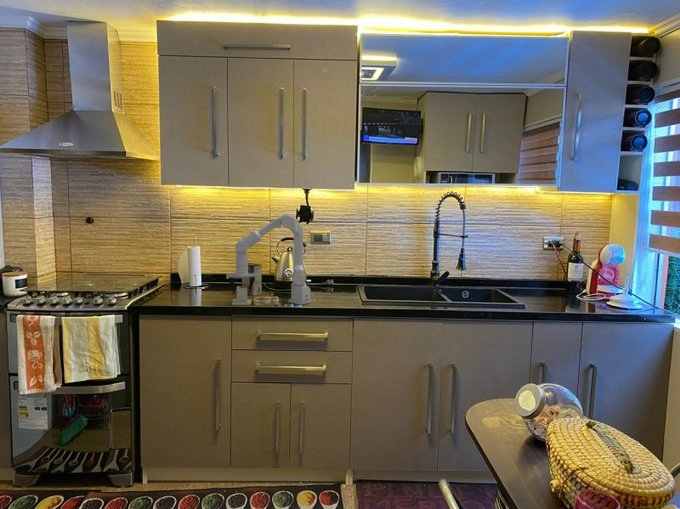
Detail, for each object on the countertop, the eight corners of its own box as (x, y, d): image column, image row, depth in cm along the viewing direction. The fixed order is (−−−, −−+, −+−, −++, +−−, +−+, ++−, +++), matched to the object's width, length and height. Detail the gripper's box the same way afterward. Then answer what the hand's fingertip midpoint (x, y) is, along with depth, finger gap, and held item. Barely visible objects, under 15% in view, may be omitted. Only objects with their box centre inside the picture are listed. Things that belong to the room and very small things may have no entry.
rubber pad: (251, 300, 235) (251, 299, 235) (251, 304, 226) (251, 303, 226) (233, 301, 233) (233, 299, 233) (232, 305, 224) (232, 303, 224)
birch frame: (277, 300, 236) (277, 296, 236) (278, 304, 227) (278, 300, 226) (253, 301, 234) (253, 296, 234) (253, 305, 225) (253, 301, 224)
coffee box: (241, 293, 253) (241, 263, 251) (249, 291, 258) (249, 262, 256) (253, 295, 247) (253, 265, 246) (262, 293, 253) (262, 264, 251)
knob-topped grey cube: (247, 300, 232) (247, 285, 231) (247, 302, 227) (247, 287, 227) (237, 300, 231) (236, 285, 231) (236, 302, 226) (236, 287, 226)
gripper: (225, 266, 222) (226, 294, 224) (257, 266, 225) (257, 294, 226) (226, 264, 229) (227, 291, 231) (257, 264, 232) (257, 291, 233)
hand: (242, 292), depth 229 cm, fingers open, 7 cm apart
